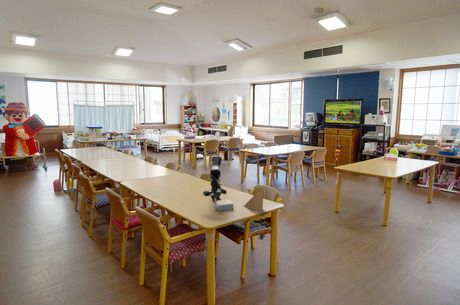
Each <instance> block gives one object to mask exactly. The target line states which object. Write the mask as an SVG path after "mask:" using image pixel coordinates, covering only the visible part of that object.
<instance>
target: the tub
mask: <svg viewBox="0 0 460 305" xmlns="http://www.w3.org/2000/svg"><path fill="white" fill-rule="evenodd" d="M213 208H214V209H216V210H217V211H218V212H221V211H222V212H223V211H229V210H230V211H231V210H234V204H229V205H222V206H216V205H214V204H213Z"/></svg>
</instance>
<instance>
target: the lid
mask: <svg viewBox="0 0 460 305" xmlns="http://www.w3.org/2000/svg"><path fill="white" fill-rule="evenodd" d="M211 204H213V206H214V205H216V206H222V205H229V204H233V205H235V204H234V202H232V201H231V200H230V199H221V200H217V199H215V198H214V203H213V201H211Z"/></svg>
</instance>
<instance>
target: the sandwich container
mask: <svg viewBox="0 0 460 305" xmlns="http://www.w3.org/2000/svg"><path fill="white" fill-rule="evenodd" d="M263 204H264V191H261V192H257V193H255V194H254V195H253V196H252V197H251V198H249V200H248V201H247V202H246V203H245V204H244V205H243V208H246V209H249V210H251V211H253V212H257V211H261V210H264V209H263V206H264V205H263Z"/></svg>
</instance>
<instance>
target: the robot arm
mask: <svg viewBox="0 0 460 305" xmlns="http://www.w3.org/2000/svg"><path fill="white" fill-rule="evenodd" d="M211 161H212V167H211V170H210V173H209V174H210V175H209V178H210V179H211V180H210V187H211V189H210V191H209V190H204V191H203V192H202V195H203V196H204V197H210V199H211V202H213V203H214V198H215V199H217V201H221V200H222V199H221V198H220V196H221V195H222V194H223V195H227V193H228V192H227V190H226V189H224V188H222V186H221V183H220V178H221V176H222V172H221V169H220V166H221V164H222V161H223V158H222V157H221V156H219V155H214V156H212V157H211ZM213 203H212V204H213Z"/></svg>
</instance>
